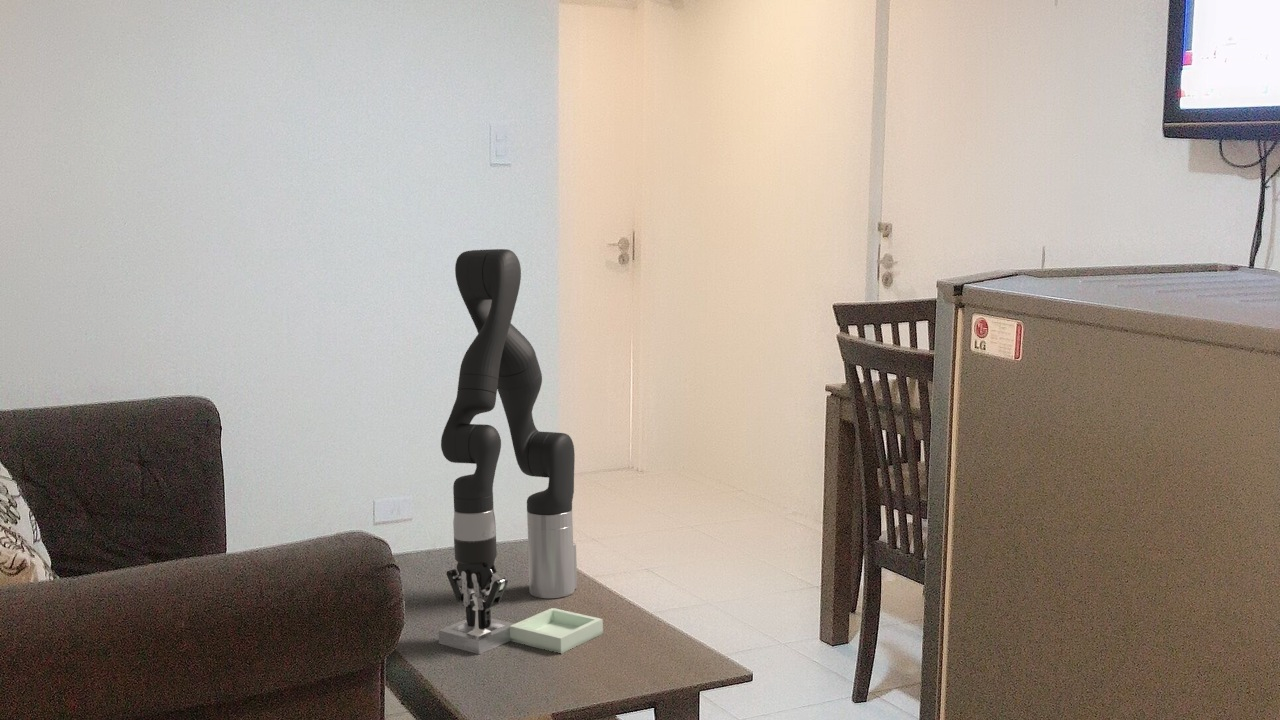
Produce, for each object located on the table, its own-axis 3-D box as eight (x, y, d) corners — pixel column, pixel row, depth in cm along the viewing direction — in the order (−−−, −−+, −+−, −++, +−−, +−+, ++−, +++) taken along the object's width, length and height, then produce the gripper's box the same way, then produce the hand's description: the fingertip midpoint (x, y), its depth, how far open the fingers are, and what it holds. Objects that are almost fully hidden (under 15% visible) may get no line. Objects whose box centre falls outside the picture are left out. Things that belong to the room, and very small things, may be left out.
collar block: (477, 627, 217) (477, 614, 217) (517, 637, 211) (517, 624, 211) (439, 643, 209) (438, 630, 208) (479, 654, 203) (478, 640, 203)
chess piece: (488, 643, 207) (485, 589, 206) (462, 642, 208) (459, 588, 207) (496, 633, 212) (494, 580, 211) (471, 632, 213) (468, 579, 212)
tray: (552, 622, 219) (552, 607, 219) (603, 633, 212) (602, 619, 212) (510, 640, 209) (509, 625, 209) (561, 653, 202) (560, 638, 202)
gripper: (517, 534, 207) (521, 627, 209) (461, 524, 215) (465, 614, 217) (488, 544, 201) (492, 640, 203) (432, 533, 209) (436, 625, 211)
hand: (478, 626), depth 210 cm, fingers closed on chess piece
